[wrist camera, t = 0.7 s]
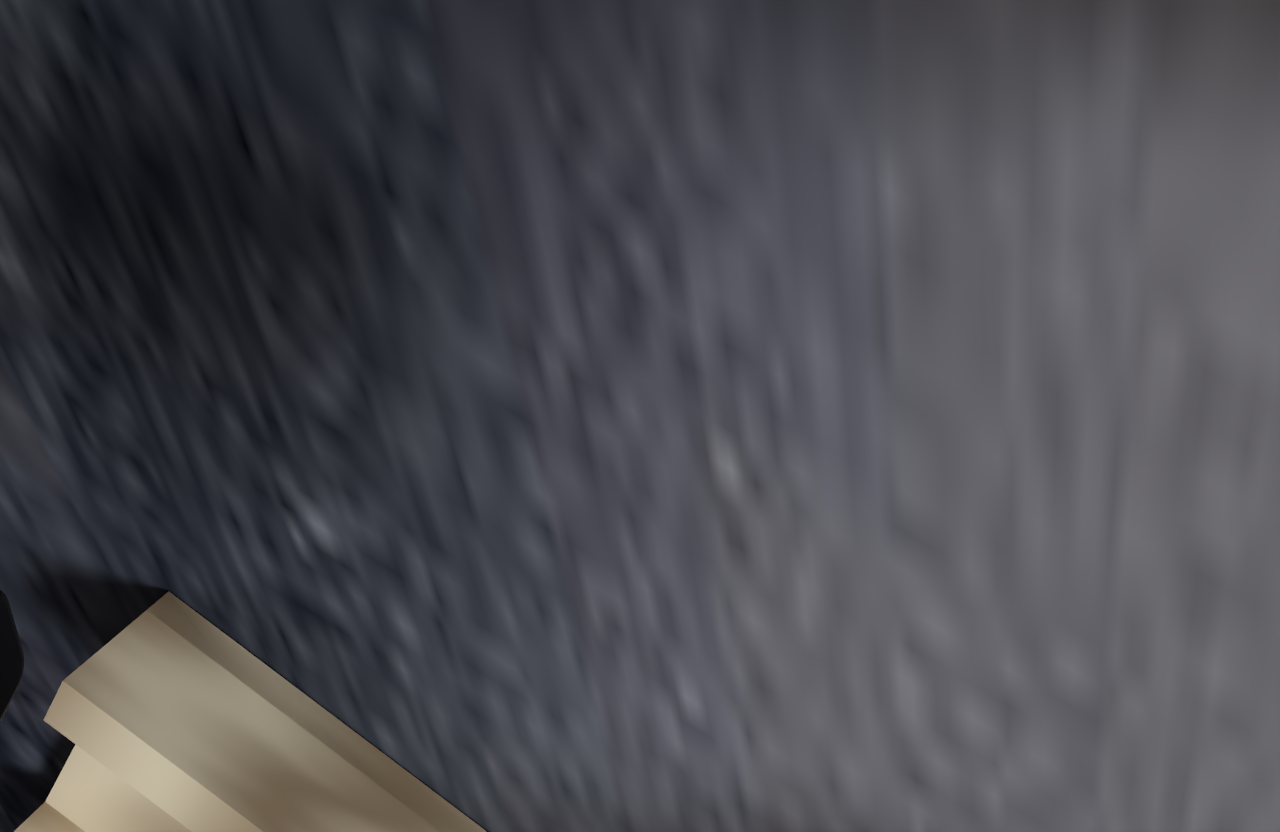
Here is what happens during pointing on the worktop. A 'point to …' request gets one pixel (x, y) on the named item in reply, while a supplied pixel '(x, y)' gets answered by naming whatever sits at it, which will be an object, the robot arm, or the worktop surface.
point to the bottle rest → (215, 746)
